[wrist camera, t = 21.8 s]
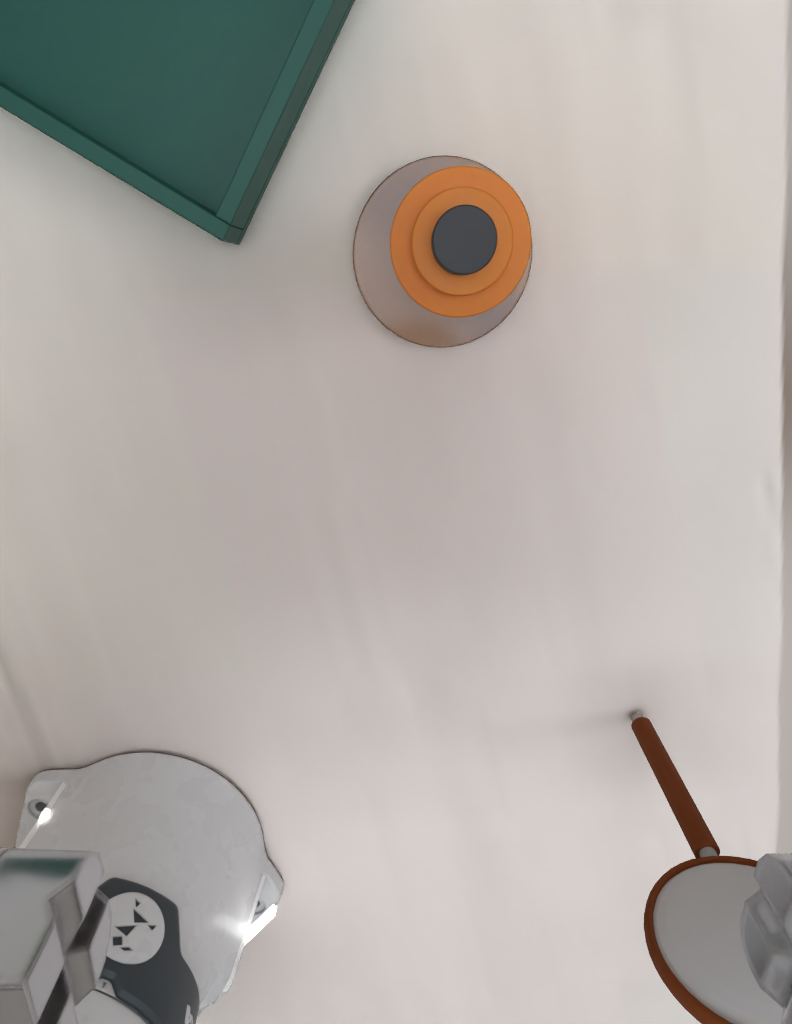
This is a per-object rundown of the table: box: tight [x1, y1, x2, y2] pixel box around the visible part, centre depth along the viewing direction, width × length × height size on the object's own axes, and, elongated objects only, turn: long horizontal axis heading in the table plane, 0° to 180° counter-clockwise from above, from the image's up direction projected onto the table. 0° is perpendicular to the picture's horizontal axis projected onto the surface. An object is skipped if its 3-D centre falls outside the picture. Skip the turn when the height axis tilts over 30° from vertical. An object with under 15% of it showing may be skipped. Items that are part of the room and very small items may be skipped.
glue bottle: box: [390, 166, 531, 318], centre depth 28 cm, size 5×5×12 cm
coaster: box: [353, 156, 532, 347], centre depth 34 cm, size 9×9×1 cm
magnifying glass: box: [631, 713, 783, 1024], centre depth 33 cm, size 9×2×20 cm, turn 96°
